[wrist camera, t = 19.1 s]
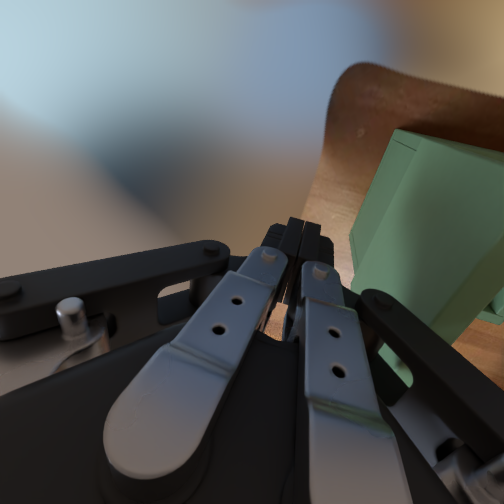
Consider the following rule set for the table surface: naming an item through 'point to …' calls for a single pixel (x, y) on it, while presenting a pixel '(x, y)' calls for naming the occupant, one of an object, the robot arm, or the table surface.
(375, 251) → the lid
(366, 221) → the chest
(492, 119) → the table surface
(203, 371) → the robot arm
